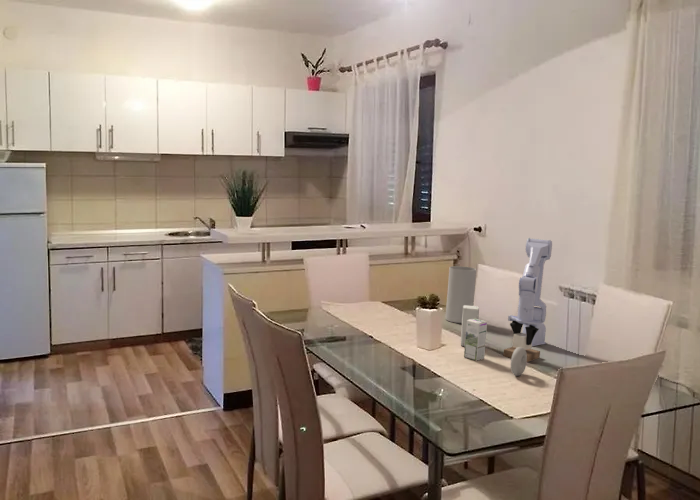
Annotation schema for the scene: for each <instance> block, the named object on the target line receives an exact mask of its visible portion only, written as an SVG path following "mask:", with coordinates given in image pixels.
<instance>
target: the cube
mask: <svg viewBox="0 0 700 500" xmlns="http://www.w3.org/2000/svg"><path fill="white" fill-rule="evenodd" d="M512 337H513V338H512V346H511V347H515V348H518V347H522V348H524V349H525V350H526V349H532V347H533V346H532V343H531V345H526V337H527V335H526V334H525V333H523V332H521V333H517V334H513V336H512Z"/></svg>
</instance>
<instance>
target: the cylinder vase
mask: <svg viewBox="0 0 700 500" xmlns="http://www.w3.org/2000/svg"><path fill="white" fill-rule="evenodd" d="M448 268H449V269H448V279H447V280H448V282H447V295H446V304H445V305H446V306H445V320H446V321H448V322H451V323H454V324H462V315H463V306H464V305H468V306H475V305H474V302H475V290H476V279H477V269H476V268H475V267H469V266H459V265H458V266H457V265H455V266H453V265H452V266H449V267H448Z"/></svg>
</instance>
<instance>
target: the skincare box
mask: <svg viewBox="0 0 700 500" xmlns="http://www.w3.org/2000/svg"><path fill="white" fill-rule="evenodd" d="M479 315H480V306H478V305H474V306H468V305H464V306H463V315H462V323H461V329H460V330H461V333H460V346H461V345H462V346H461V347H465V337H466V324H467V320H469V319H479V318H480V317H479ZM479 320H480V319H479Z"/></svg>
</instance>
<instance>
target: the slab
mask: <svg viewBox="0 0 700 500" xmlns="http://www.w3.org/2000/svg"><path fill="white" fill-rule="evenodd" d="M515 349H516V348H515V347H512V346H511V347H508V348H504V349H503V353H502V355H503V357H506V358H510V359H511V358H512V354H513V352H514V350H515ZM526 353H527V363H528V362H532V361H534V360H537V359H540V357H541V351H540V350H536V349H532V348H531V349H526Z"/></svg>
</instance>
